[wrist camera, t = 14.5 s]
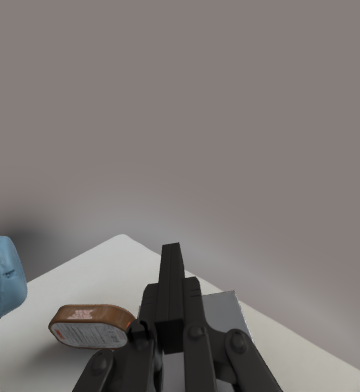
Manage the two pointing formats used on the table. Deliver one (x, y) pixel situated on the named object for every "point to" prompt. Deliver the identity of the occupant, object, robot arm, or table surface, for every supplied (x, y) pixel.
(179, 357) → the box lid
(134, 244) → the table surface
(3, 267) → the robot arm
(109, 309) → the tin
